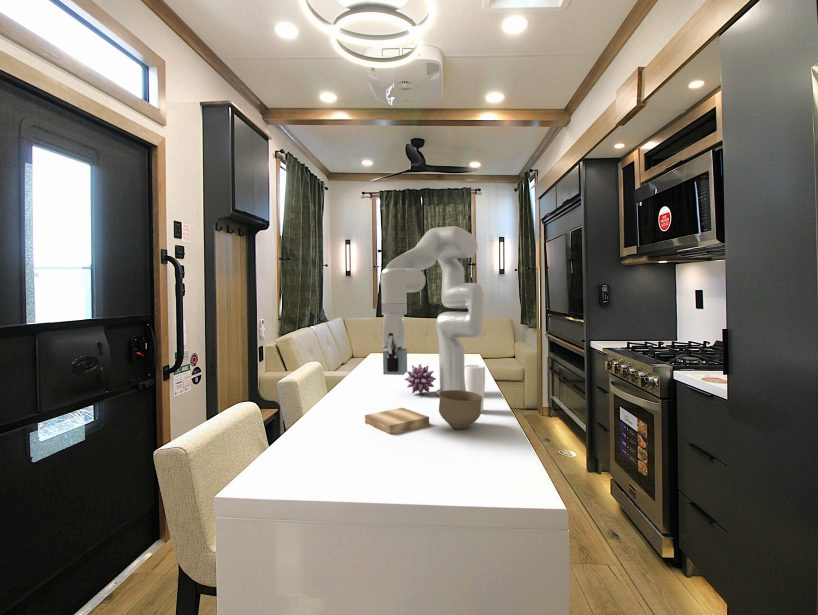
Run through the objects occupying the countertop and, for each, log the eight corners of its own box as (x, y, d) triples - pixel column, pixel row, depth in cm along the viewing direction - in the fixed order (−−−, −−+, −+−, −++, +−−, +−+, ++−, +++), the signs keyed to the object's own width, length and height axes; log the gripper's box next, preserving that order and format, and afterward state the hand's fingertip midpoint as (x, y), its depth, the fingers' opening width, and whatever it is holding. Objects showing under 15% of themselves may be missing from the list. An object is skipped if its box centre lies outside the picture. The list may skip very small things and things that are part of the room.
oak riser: (402, 416, 149) (402, 407, 149) (429, 426, 137) (429, 416, 137) (365, 424, 141) (364, 415, 141) (390, 436, 129) (389, 425, 129)
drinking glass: (484, 408, 154) (484, 364, 154) (486, 414, 148) (485, 368, 147) (464, 408, 155) (464, 364, 154) (465, 414, 148) (464, 368, 148)
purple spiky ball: (405, 391, 183) (404, 361, 182) (435, 390, 182) (434, 360, 182) (404, 398, 171) (404, 366, 170) (437, 397, 171) (436, 365, 170)
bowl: (481, 435, 127) (481, 399, 127) (436, 433, 130) (435, 398, 129) (483, 421, 140) (483, 389, 139) (442, 420, 142) (441, 388, 142)
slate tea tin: (388, 370, 142) (387, 348, 142) (407, 371, 141) (406, 348, 140) (383, 374, 136) (382, 351, 136) (403, 374, 135) (402, 351, 135)
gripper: (389, 308, 147) (390, 364, 147) (374, 311, 130) (375, 374, 131) (412, 308, 145) (413, 364, 146) (400, 311, 128) (401, 375, 129)
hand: (395, 368), depth 138 cm, fingers closed on slate tea tin, 6 cm apart
